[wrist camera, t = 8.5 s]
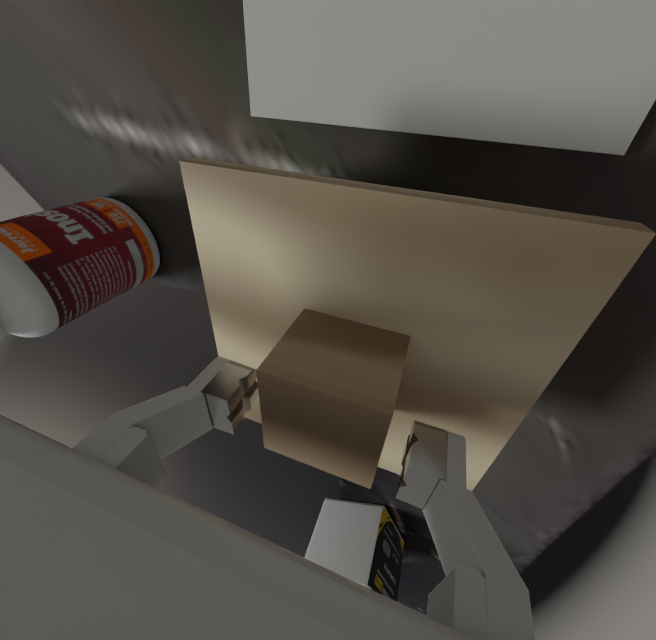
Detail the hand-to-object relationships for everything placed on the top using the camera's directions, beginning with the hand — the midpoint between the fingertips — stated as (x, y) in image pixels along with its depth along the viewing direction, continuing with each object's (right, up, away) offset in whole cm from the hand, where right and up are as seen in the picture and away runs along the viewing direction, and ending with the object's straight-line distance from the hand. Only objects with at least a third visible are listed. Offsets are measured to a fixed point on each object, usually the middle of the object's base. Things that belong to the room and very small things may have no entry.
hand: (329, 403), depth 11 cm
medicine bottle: (+4, -19, +24) cm, 31 cm away
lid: (+1, +2, +2) cm, 3 cm away
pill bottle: (-15, +9, +12) cm, 21 cm away
